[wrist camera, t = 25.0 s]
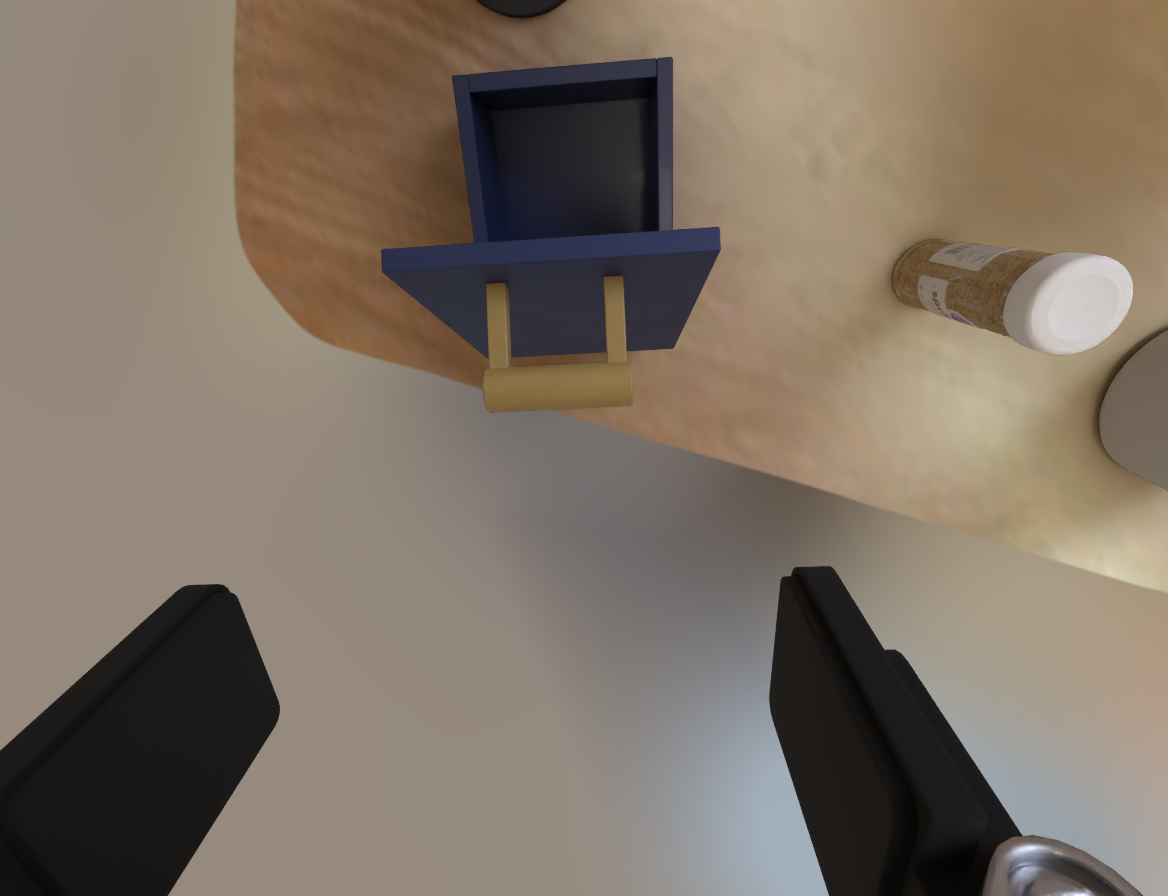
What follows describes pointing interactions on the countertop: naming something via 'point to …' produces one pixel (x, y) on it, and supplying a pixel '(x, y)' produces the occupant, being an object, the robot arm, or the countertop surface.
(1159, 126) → the countertop surface
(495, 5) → the coaster
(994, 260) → the sprinkles bottle
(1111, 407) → the cylinder vase
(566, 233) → the case
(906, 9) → the countertop surface
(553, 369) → the case lid
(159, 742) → the robot arm
